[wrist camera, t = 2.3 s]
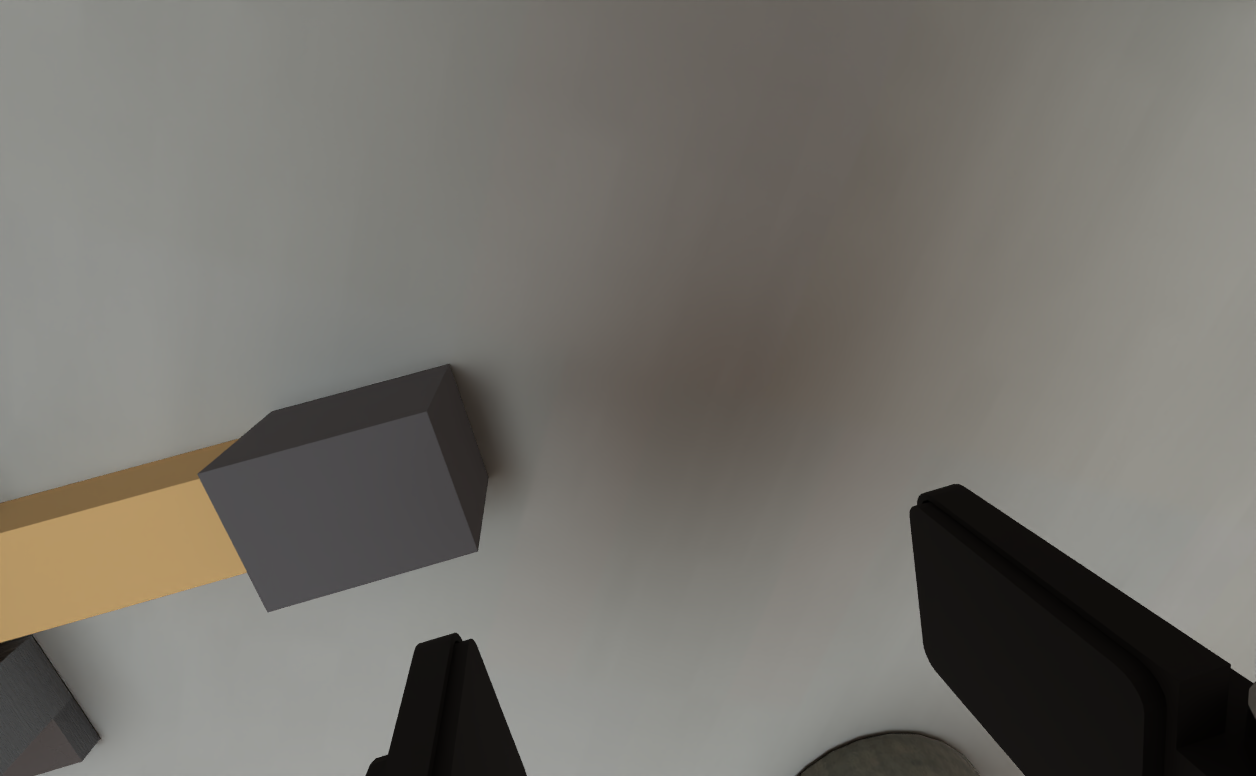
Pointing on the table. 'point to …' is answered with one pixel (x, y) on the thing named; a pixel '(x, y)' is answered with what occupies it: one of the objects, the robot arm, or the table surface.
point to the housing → (37, 714)
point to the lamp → (893, 758)
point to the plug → (257, 510)
